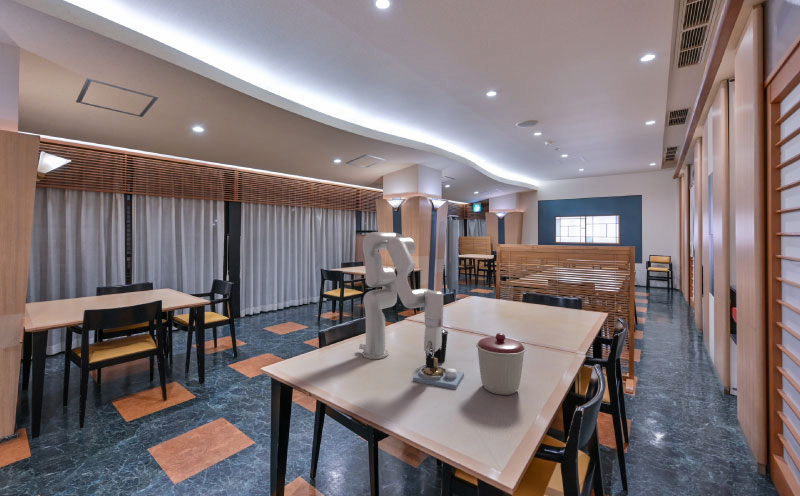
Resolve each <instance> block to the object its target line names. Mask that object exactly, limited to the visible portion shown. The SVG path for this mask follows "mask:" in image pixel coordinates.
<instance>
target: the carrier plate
mask: <svg viewBox="0 0 800 496" xmlns="http://www.w3.org/2000/svg"><path fill="white" fill-rule="evenodd" d="M424 368H426V365H423V366H422V367H421V368H419V370H418V371H417V373H416V374H415V375H414V376H412V381H413V382H417V383H421V384H427V385H433V386H438V387H442V388H449V389H455V390H457V389H458V387H459V386H460V384H461V382H462V380H463V379H464V376H465V372H463V371H457V370H456V369H455V368H449V367H448V368H445V367H444V366H440V365H438V368H442V369H443V370H444V375H443V376H441V377H440V376H429V375H426V374H424Z"/></svg>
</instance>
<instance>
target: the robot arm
mask: <svg viewBox="0 0 800 496" xmlns="http://www.w3.org/2000/svg"><path fill="white" fill-rule="evenodd" d="M379 250H382V251H383V250H387V252H388V254H389V257H390V259H391V260H392V263H393V265H394V268H395V270H396V271H395V270H394V269H393V268H392V267H389V266H384V265H383V264H384V263H383V258H382V255H381V253H380V252H379ZM416 250H417V246H416V243H415V241H414V239H413V238H412V237H410V236H406V235H403V234H400V233H397V232H393V231H390V232H389V231H372V232H369V233H368V234H366V235H365V236H364V238H363V241H362V251H363V256H364V267H365V268H364V269H365V270H364V271H365V282H366V283H365V284H366V286H368V287H369V288H380V287H382V288H380V289H373V290H369V291H368V292H366V293H365V294H364V295H363V301H362V302H363V307H364V312H365V314H364V315H365V344H364V343H359V347H358V348H359V350H363V352H362V356H363V358H365V359H370V360H380V359H384V358H387V357H388V356H389V351H388V350H387V349H386V317H385V314H384V312H383V309H387V308H392V307H394V306H395V305H396V304H397V301H398V297H399V299H400V301H401V303H402V304H403V306H404V307H405V308H406V309H411V310H412V309H417V308H421V307H424V326H425V328H424V335H423V337H424V340H423V341H424V343H423V351H424V352H425V366H426V367H427V368H434V358H433V357H437V358H438V360H441V345H442V329H443V328H442V327H444V293H443V292H441V291H439V290H432V289H429V288H425V287H421V288H418V289H417V288H416V289H412V288H411V285H410V283H409V281H408V276H409V274H410V273H411V272H412V271H413V270H414V269H415V268H416V263H415V261H414V259H413V257H412V255H413V254H414V253H415V252H416ZM396 272H397V274H396Z"/></svg>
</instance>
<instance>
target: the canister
mask: <svg viewBox="0 0 800 496" xmlns="http://www.w3.org/2000/svg"><path fill="white" fill-rule="evenodd" d="M475 347H476V348H477V356H478V365H479V366H478V367H479V374H480V380H481V384H482V386H483V388H484V389H485V390H486V391H488V392H489V393H492V394H495V395H499V396H501V395H502V396H504V395H505V396H506V395H507V396H508V395H513V394H515V393H516V392H517V391H519V388H520V385H521V379H522V373H523V363H524V356H525V353H526V351H527V347H526V346H525V345H524V344H522V343H521V342H520V341H518V340H516V339H512V338H510V337H509V338H508V337H506V335H505V334H504V333H501V332H498V333H496V334H495V336H488V337H487V336H486V337H483V338H481V339H480V340H477V341H476V343H475Z"/></svg>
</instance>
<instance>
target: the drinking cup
mask: <svg viewBox="0 0 800 496" xmlns="http://www.w3.org/2000/svg"><path fill="white" fill-rule="evenodd" d="M448 334H449V331H448V330H445V329H443V328H442V345H441V360H438V364H442V363H445V362H446V353H447V342H448Z"/></svg>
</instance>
